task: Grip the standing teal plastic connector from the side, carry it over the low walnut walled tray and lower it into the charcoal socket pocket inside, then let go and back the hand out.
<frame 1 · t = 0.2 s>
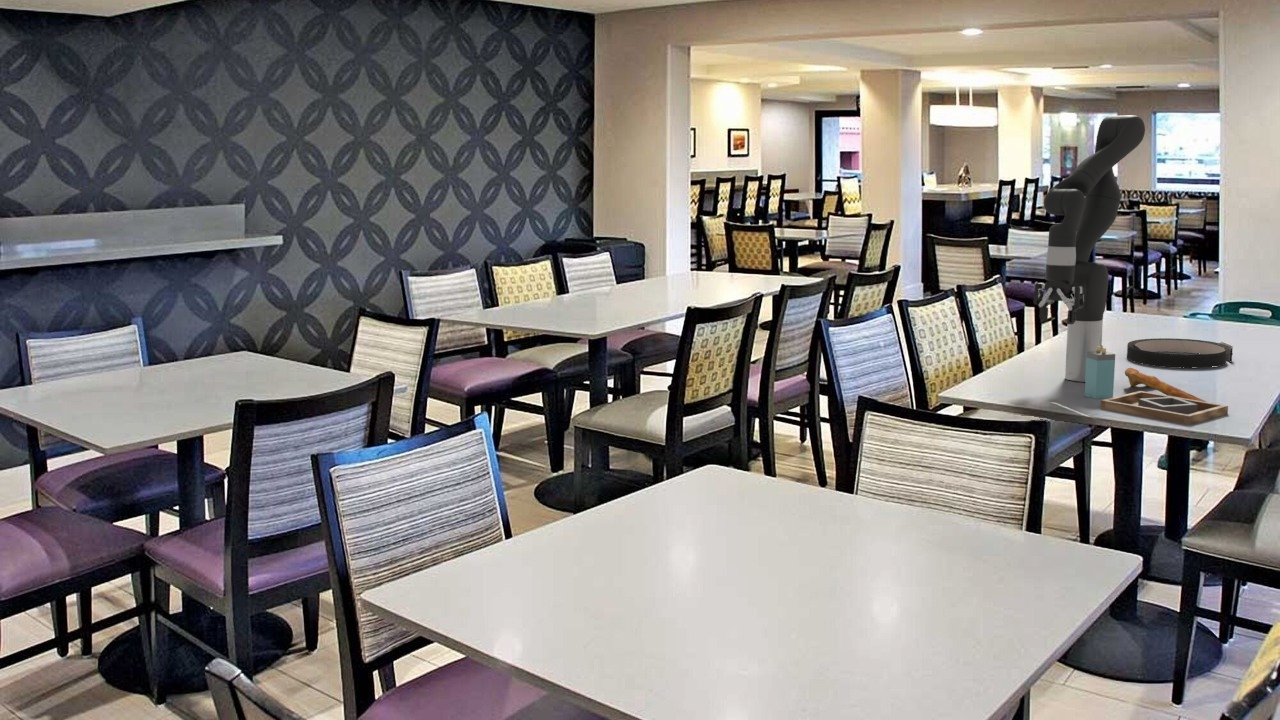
hand: (1057, 322, 313), 18 cm above the table, tool pointing down, fingers open, 8 cm apart
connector: (1098, 397, 300), on the table
belt: (1178, 361, 350), on the table
bone: (1160, 399, 299), on the table, touching walled box
socket: (1167, 411, 281), resting on walled box
walled box: (1163, 412, 282), on the table
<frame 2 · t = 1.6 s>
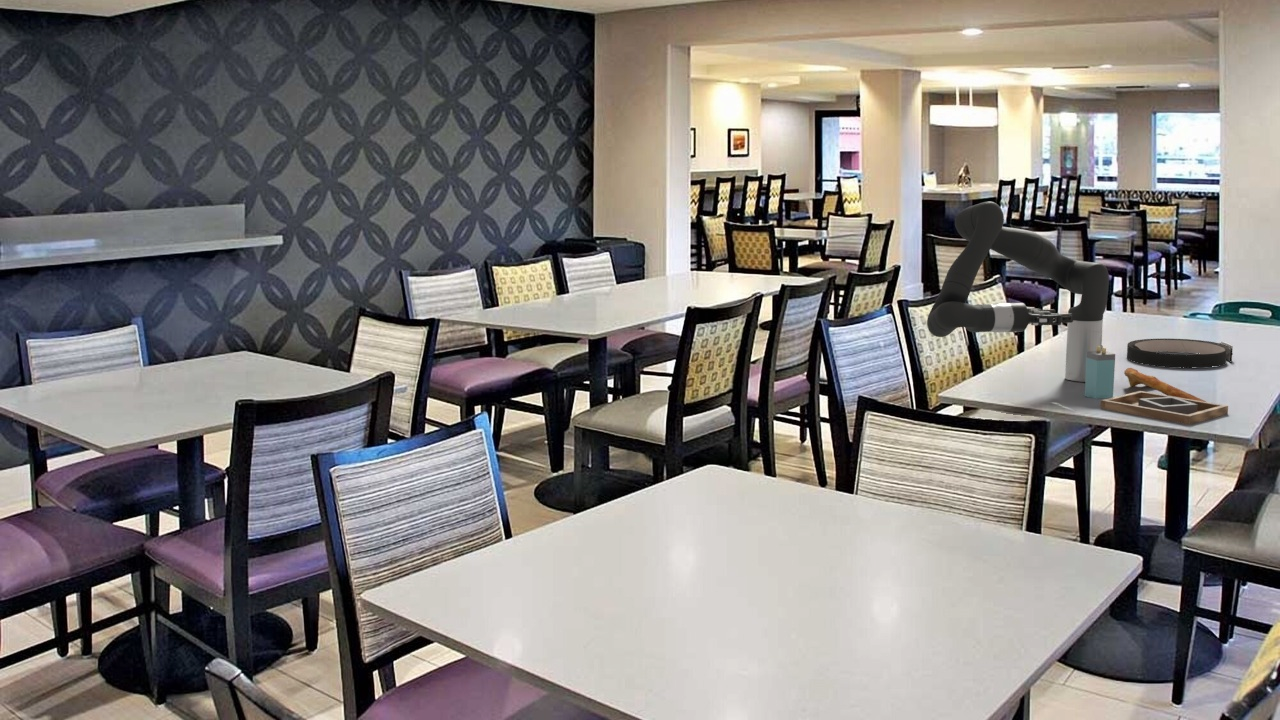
hand: (1063, 315, 294), 22 cm above the table, tool horizontal, fingers open, 8 cm apart
nothing on the table moved.
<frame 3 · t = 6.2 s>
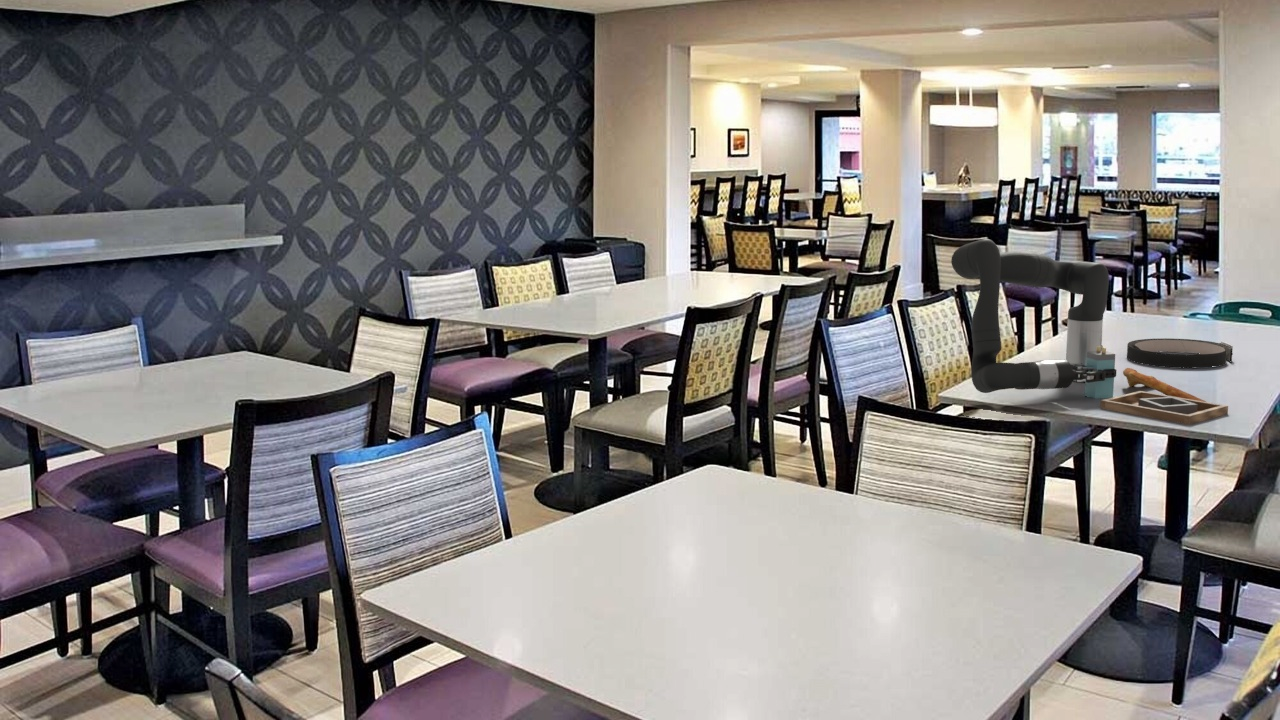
hand: (1109, 370, 299), 7 cm above the table, tool horizontal, fingers closed on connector, 5 cm apart
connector: (1098, 397, 300), on the table, touching gripper
everything else where it was.
when the fingers open (9 cm above the table, at t = 11.8 s): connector drops 1 cm, resting on socket.
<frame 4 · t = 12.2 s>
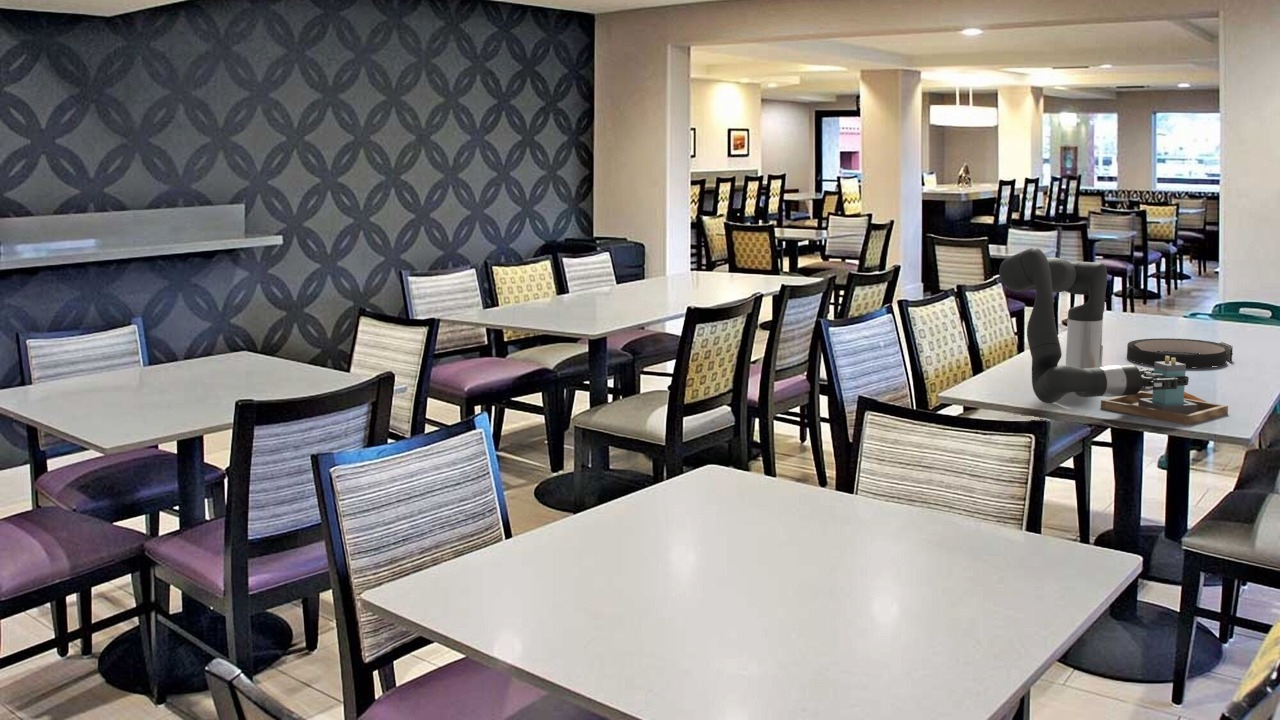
hand: (1176, 377, 280), 9 cm above the table, tool horizontal, fingers open, 8 cm apart
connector: (1167, 411, 281), point 1 cm above the table, touching socket
everything else where it was.
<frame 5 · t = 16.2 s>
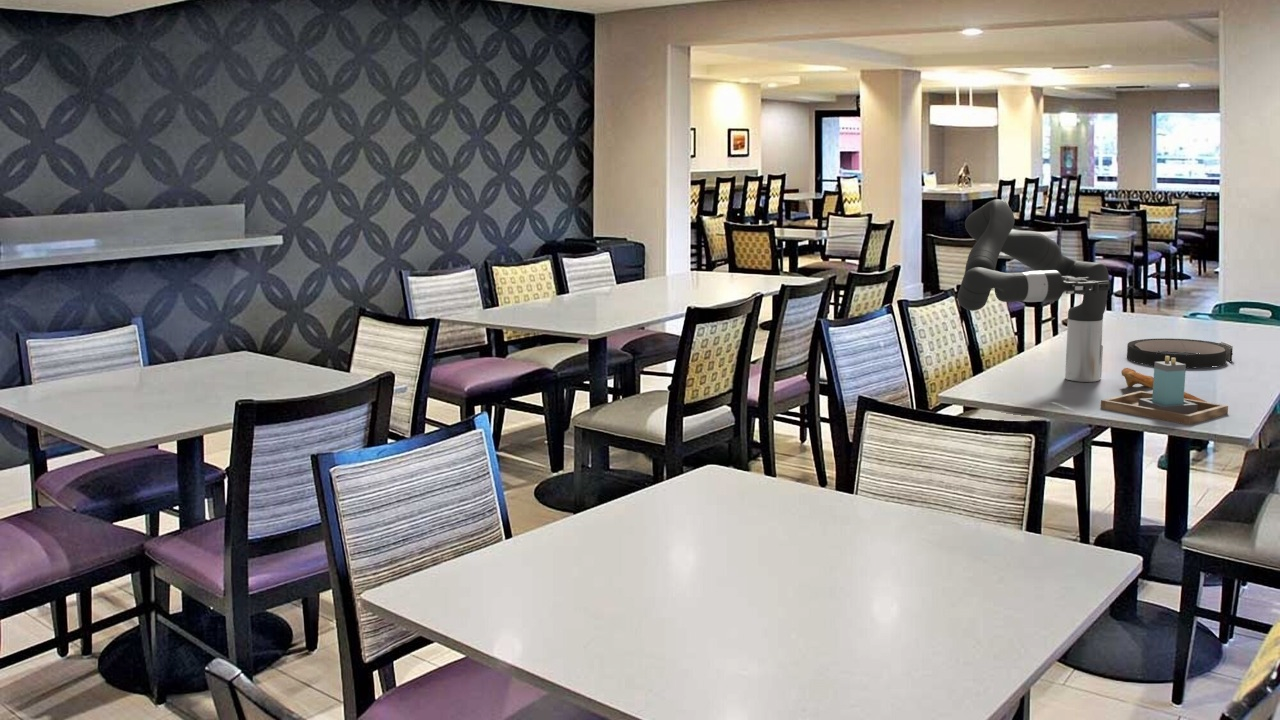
hand: (1099, 283, 280), 32 cm above the table, tool horizontal, fingers open, 8 cm apart
nothing on the table moved.
at the end: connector 0.1 cm off-centre on the socket, point 0.1 cm above the socket's base; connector tilted 0°; the gripper is holding nothing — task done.
